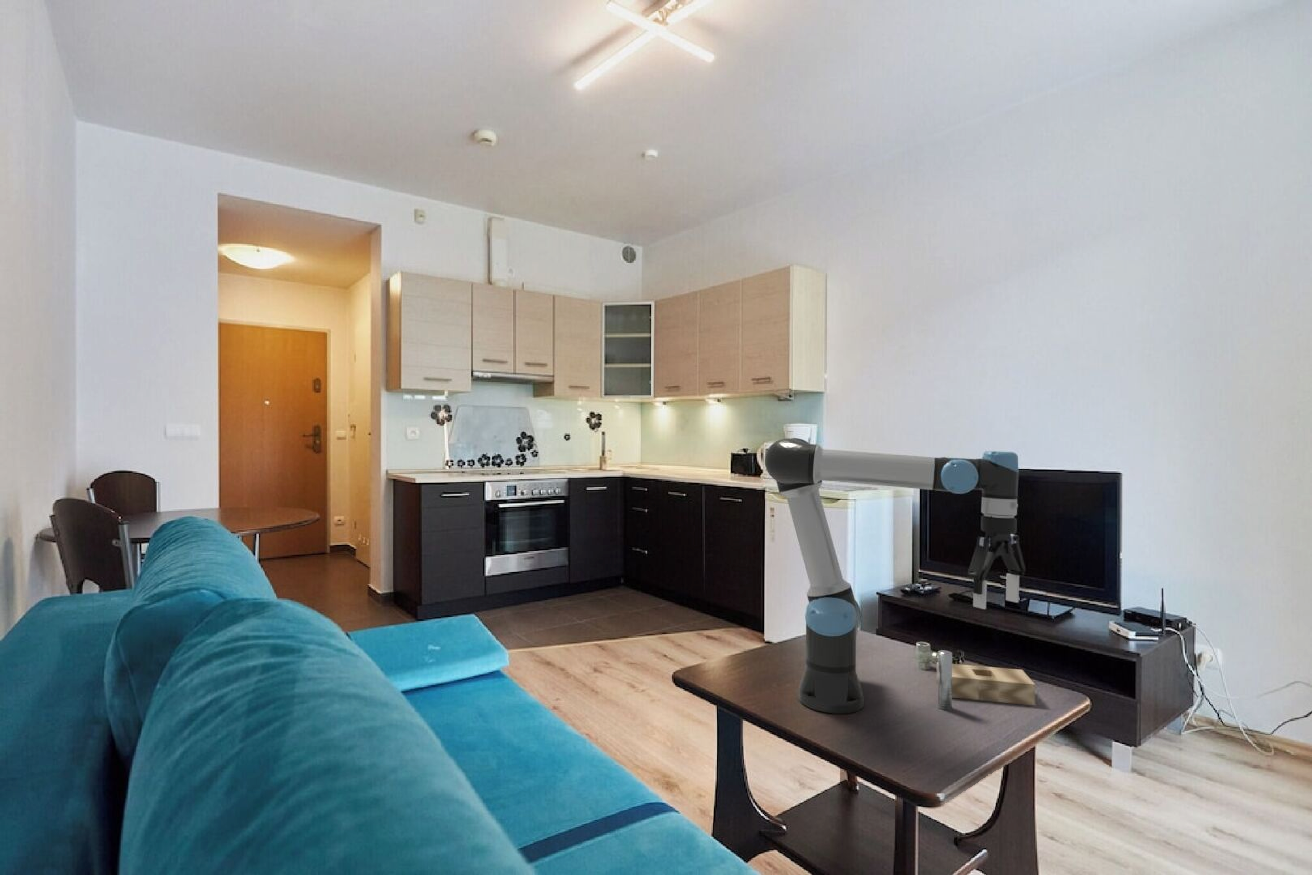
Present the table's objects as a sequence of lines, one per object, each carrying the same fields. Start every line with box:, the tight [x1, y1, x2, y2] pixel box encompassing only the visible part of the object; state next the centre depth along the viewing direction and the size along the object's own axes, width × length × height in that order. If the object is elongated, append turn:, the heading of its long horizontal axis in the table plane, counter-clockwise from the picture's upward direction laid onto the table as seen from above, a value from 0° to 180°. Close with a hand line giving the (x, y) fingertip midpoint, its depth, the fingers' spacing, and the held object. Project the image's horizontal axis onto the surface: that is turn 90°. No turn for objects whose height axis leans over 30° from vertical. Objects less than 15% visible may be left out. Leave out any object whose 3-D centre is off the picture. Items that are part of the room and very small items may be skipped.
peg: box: [937, 649, 953, 712], centre depth 149 cm, size 3×3×13 cm
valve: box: [914, 641, 966, 670], centre depth 174 cm, size 7×7×12 cm
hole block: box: [936, 663, 1036, 706], centre depth 158 cm, size 20×10×5 cm, turn 75°
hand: (996, 604), depth 152 cm, fingers open, 13 cm apart
